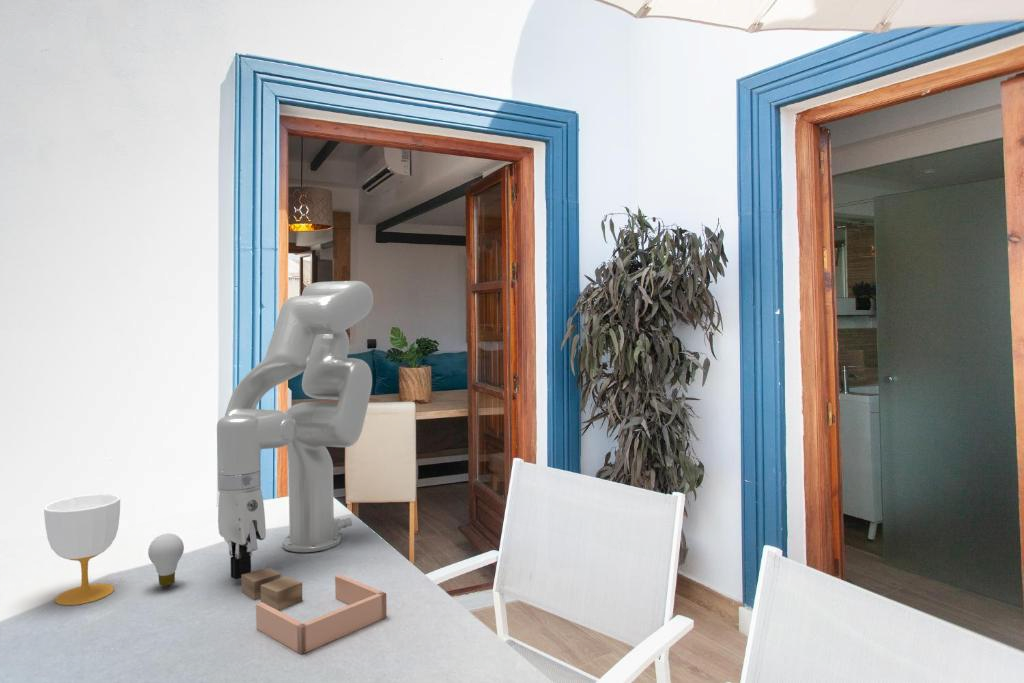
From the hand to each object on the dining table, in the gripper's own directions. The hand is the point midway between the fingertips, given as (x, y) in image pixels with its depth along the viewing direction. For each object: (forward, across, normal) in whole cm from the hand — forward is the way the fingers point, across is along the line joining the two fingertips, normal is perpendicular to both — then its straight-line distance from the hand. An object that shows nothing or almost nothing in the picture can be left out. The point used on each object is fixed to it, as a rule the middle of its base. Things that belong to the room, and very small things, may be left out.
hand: (241, 576), depth 124 cm
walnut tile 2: (+1, -14, 0) cm, 14 cm away
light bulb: (+1, +9, +10) cm, 13 cm away
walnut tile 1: (+1, -7, 0) cm, 7 cm away
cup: (+1, +17, +21) cm, 27 cm away
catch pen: (+1, -27, 0) cm, 27 cm away
